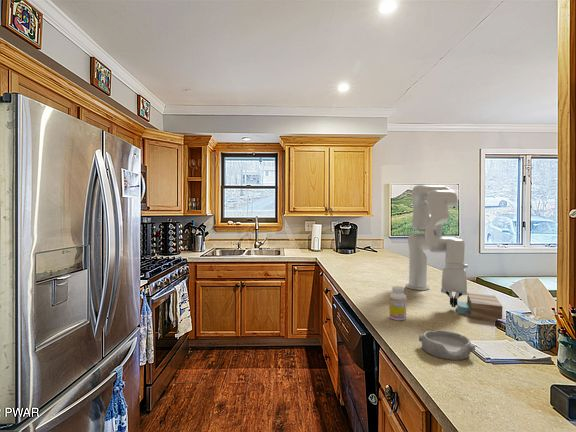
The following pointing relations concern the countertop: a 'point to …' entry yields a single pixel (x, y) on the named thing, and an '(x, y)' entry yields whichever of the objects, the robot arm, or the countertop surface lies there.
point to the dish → (446, 344)
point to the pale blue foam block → (463, 307)
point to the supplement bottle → (397, 304)
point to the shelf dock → (484, 307)
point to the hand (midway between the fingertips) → (453, 306)
